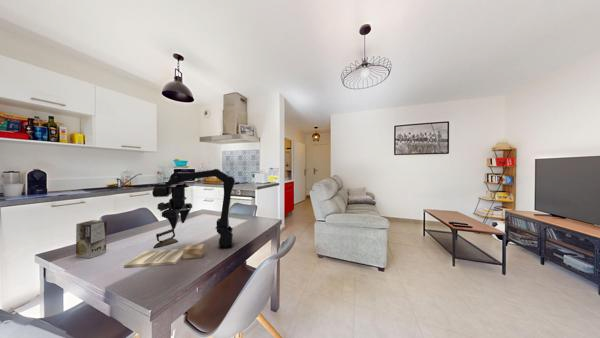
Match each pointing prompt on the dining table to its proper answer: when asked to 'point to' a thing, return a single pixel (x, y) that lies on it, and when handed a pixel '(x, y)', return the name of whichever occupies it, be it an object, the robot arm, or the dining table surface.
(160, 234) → the clothes iron
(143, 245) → the dining table surface
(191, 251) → the block
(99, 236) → the coffee box
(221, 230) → the robot arm
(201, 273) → the dining table surface
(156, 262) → the birch board
